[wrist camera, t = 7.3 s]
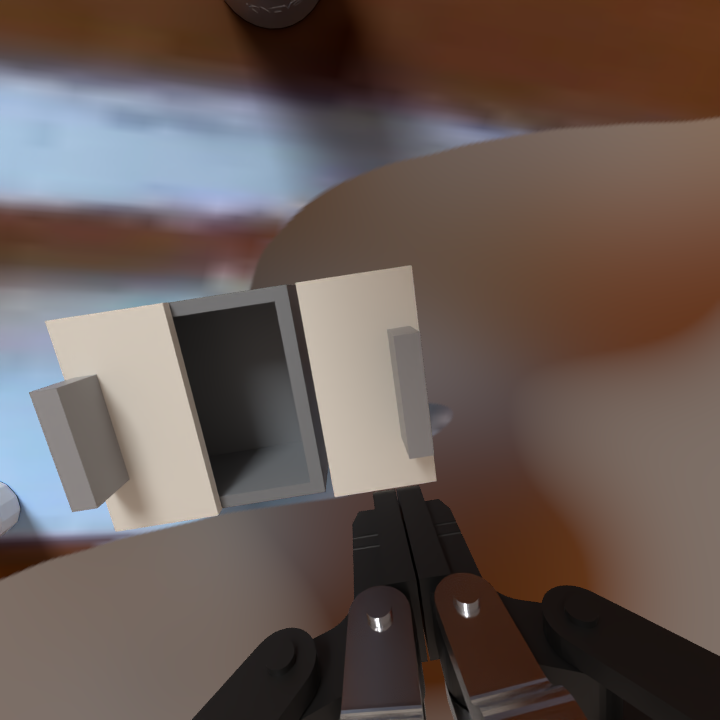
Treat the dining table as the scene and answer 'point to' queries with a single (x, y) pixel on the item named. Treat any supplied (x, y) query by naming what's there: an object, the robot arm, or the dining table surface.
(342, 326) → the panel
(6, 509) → the white cup
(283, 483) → the box
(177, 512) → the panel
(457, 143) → the dining table surface
